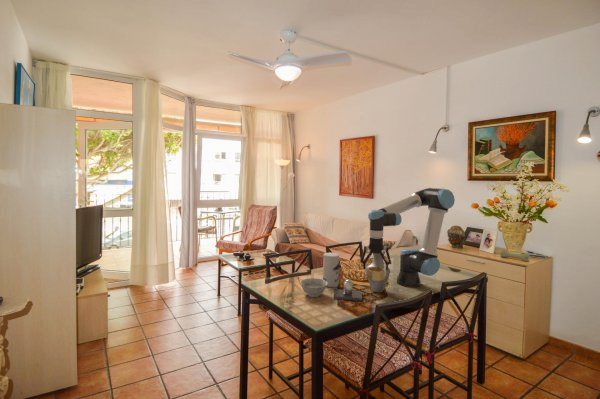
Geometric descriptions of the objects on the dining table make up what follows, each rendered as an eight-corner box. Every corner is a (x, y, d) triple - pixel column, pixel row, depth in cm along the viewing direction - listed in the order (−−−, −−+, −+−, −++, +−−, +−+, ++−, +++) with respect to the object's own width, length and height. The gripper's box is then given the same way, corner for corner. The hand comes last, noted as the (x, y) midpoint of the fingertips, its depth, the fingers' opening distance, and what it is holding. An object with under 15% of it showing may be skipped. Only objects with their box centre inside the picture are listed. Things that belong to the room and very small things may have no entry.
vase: (387, 296, 194) (389, 254, 192) (363, 292, 199) (365, 252, 197) (390, 288, 208) (391, 249, 206) (367, 285, 212) (368, 247, 211)
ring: (383, 275, 194) (383, 266, 194) (385, 280, 185) (385, 272, 184) (365, 274, 196) (366, 266, 195) (367, 280, 186) (367, 271, 185)
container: (337, 287, 206) (338, 256, 205) (321, 286, 208) (322, 255, 207) (338, 282, 216) (339, 252, 215) (323, 281, 218) (324, 251, 217)
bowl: (306, 301, 183) (307, 288, 183) (295, 291, 198) (296, 279, 197) (331, 297, 190) (332, 285, 189) (319, 288, 204) (319, 276, 204)
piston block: (361, 293, 198) (361, 277, 197) (362, 300, 186) (362, 284, 185) (334, 291, 200) (334, 276, 199) (333, 298, 188) (334, 282, 187)
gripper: (395, 236, 190) (394, 274, 192) (356, 235, 193) (355, 272, 195) (397, 239, 183) (396, 278, 185) (356, 237, 186) (355, 276, 188)
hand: (375, 275), depth 190 cm, fingers closed on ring, 10 cm apart
